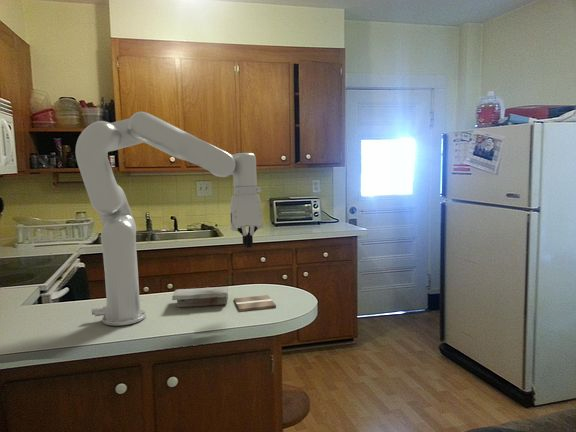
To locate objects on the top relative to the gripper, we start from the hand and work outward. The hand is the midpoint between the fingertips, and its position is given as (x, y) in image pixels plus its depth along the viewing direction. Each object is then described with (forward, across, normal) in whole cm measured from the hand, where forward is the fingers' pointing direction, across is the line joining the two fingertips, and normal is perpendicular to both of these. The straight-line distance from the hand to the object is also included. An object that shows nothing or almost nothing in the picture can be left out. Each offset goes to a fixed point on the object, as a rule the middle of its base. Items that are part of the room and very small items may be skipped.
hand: (247, 246), depth 146 cm
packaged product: (+17, +16, -2) cm, 23 cm away
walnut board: (+20, -1, 0) cm, 20 cm away
